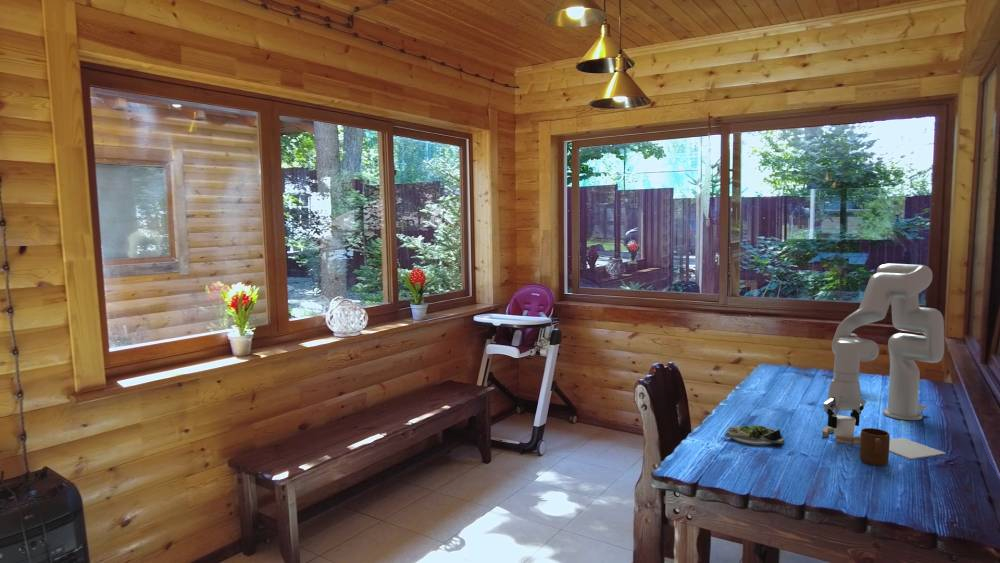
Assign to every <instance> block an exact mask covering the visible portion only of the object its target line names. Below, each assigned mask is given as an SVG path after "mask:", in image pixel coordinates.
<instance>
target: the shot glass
mask: <svg viewBox="0 0 1000 563" xmlns="http://www.w3.org/2000/svg"><path fill="white" fill-rule="evenodd" d="M836 417H837V428H834V432H833V436H834V438H836V435H838V436H845V437H854V434H855V428H856V425H855V422H856V418H854V417H851V416H850V415H846V414H837V415H836Z"/></svg>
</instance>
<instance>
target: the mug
mask: <svg viewBox="0 0 1000 563" xmlns="http://www.w3.org/2000/svg"><path fill="white" fill-rule="evenodd" d="M860 432H861V439H860V443H859V445H860V446H859V459H860V461H862V462H863V463H864V464H868V465H871V466H878V467H881V466H886V465H888V464H889V459H890V458H889V457H890V452H889V444H890V433H889V432H888V431H886V430H882V429H878V428H873V427H871V428H870V427H867V428H862V429H861V431H860Z"/></svg>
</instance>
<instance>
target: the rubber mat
mask: <svg viewBox="0 0 1000 563" xmlns="http://www.w3.org/2000/svg"><path fill="white" fill-rule="evenodd" d="M889 453H892V454H895V455H897V456H899V457H902V458H905V459H908V460H917V459H923V458H929V457H935V456H936V455H937V456H942V455H941V454H943V455H947V453H946V452H944V451H943V450H939V449H936V448H932V447H931V446H927V445H924V444H921V443H919V442H915V441H913V440H911V439H907V438H904V437H898V438H897V437H896V438H891V439H890V444H889Z"/></svg>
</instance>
